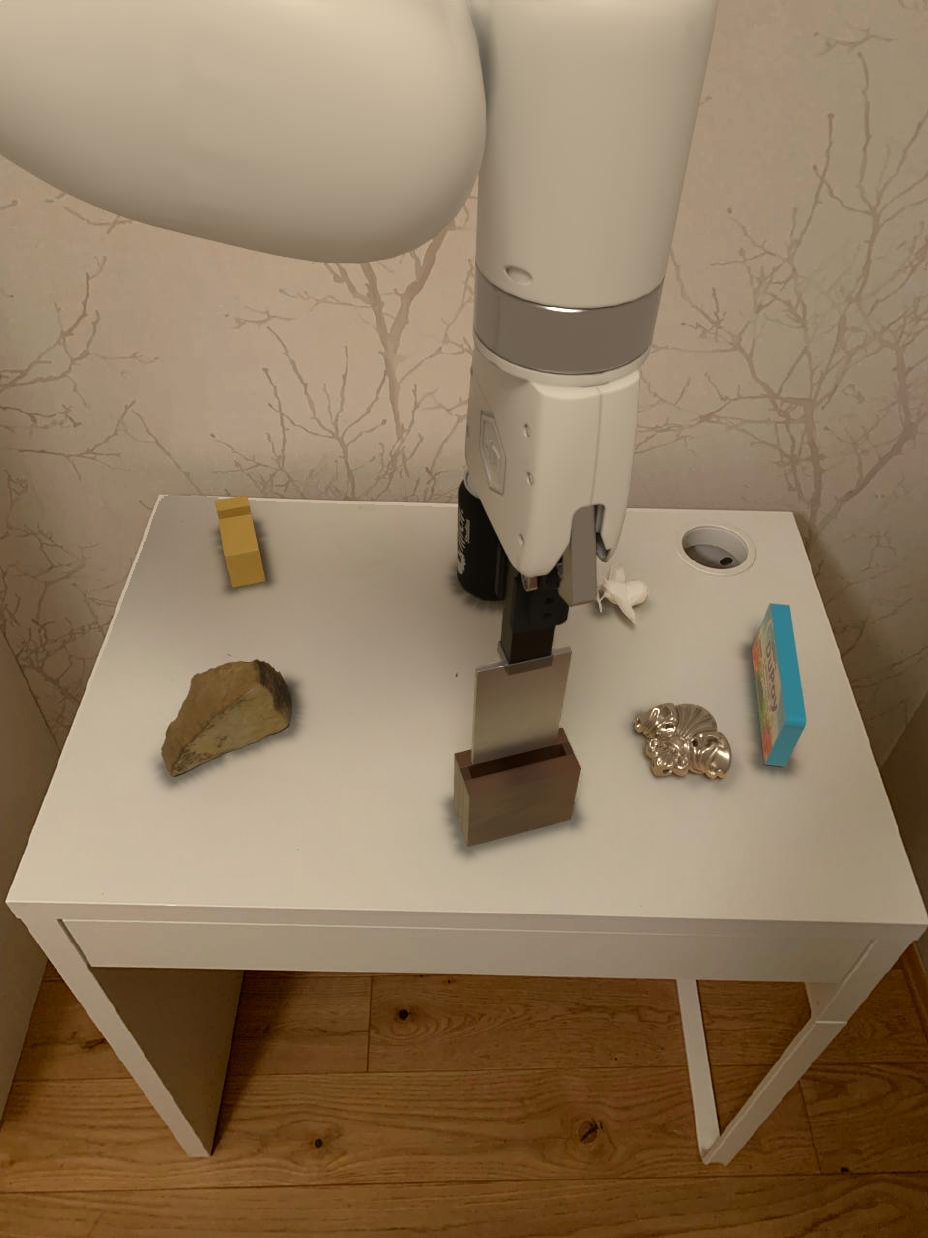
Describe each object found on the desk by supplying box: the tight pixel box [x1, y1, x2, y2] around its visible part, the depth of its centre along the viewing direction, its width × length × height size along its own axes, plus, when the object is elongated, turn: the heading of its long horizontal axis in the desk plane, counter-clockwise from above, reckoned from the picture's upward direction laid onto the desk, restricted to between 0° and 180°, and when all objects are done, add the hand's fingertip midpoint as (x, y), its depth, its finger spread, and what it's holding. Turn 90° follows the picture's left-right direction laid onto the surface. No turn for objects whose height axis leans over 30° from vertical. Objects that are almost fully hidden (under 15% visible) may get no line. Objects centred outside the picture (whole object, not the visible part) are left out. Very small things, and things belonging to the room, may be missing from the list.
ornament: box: [633, 702, 733, 779], centre depth 70 cm, size 8×7×4 cm
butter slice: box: [214, 494, 252, 520], centre depth 86 cm, size 3×2×4 cm, turn 107°
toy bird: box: [596, 561, 650, 628], centre depth 80 cm, size 8×5×5 cm, turn 3°
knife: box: [470, 556, 573, 765], centre depth 54 cm, size 6×2×20 cm, turn 107°
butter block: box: [217, 513, 267, 589], centre depth 83 cm, size 3×5×4 cm, turn 17°
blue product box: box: [751, 602, 807, 768], centre depth 72 cm, size 12×2×6 cm, turn 173°
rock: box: [160, 658, 292, 777], centre depth 70 cm, size 11×9×10 cm
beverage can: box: [456, 468, 504, 602], centre depth 79 cm, size 7×7×12 cm
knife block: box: [453, 727, 582, 848], centre depth 65 cm, size 8×4×7 cm, turn 107°
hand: (530, 607), depth 51 cm, fingers closed on knife, 1 cm apart
